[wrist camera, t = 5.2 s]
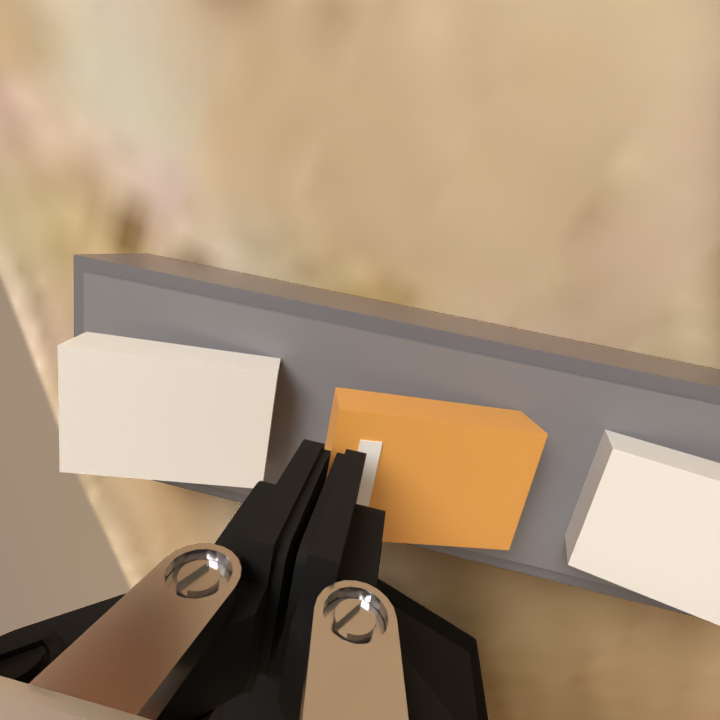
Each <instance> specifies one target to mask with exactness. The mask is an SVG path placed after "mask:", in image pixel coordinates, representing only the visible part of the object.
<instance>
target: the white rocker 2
mask: <svg viewBox="0 0 720 720" xmlns="http://www.w3.org/2000/svg"><path fill="white" fill-rule="evenodd" d="M565 542H566V552H567V562H568V565H570V566H572V567H575V568H577V569H580V570H582V571H585V572H587V573H590V574H592V575H595V576H597V577H600V578H602V579H605V580H607V581H609V582H612V583H614V584H617V585H619V586H622V587H624V588H627V589H629V590H632V591H634V592H637V593H639V594H642V595H644V596H647V597H649V598H652V599H654V600H657V601H659V602H662V603H664V604H667V605H669V606H672V607H674V608H677V609H679V610H682V611H684V612H687V613H689V614H692V615H694V616H697V617H699V618H702V619H704V620H707V621H709V622H712V623H714V624H717V625H719V626H720V463H718V462H714V461H711V460H708V459H704V458H701V457H697V456H694V455H691V454H687V453H684V452H680V451H677V450H674V449H670V448H667V447H663V446H660V445H657V444H653V443H650V442H646V441H643V440H640V439H636V438H633V437H629V436H626V435H622V434H619V433H616V432H612V431H609V430H604V433H603V435H602V438H601V441H600V443H599V446H598V449H597V451H596V454H595V457H594V459H593V462H592V465H591V467H590V470H589V473H588V475H587V478H586V480H585V483H584V486H583V488H582V491H581V494H580V496H579V499H578V502H577V504H576V507H575V510H574V512H573V515H572V518H571V520H570V523H569V526H568V528H567V531H566V533H565Z"/></svg>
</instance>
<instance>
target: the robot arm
mask: <svg viewBox="0 0 720 720" xmlns="http://www.w3.org/2000/svg"><path fill="white" fill-rule="evenodd" d="M324 447H325V444H324V443H320V442H315V441H311V440H307V439H304V440H303V441H302V443H301V444H300V446H299V447H298V449H297V451H296V452H295V454H294V456H293V457H292V459H291V461H290V462H289V464H288V466H287V467H286V469H285V470H284V472H283V474H282V475H281V477H280V479H279V480H278V482H277V484H273V483H268V482H264V481H259V482H258V483H257V484H256V485H255V487H254V488H253V489H252V491H251V492H250V494H249V495H248V497H247V498H246V499H245V501H244V502H243V504H242V505H241V507H240V508H239V510H238V511H237V512H236V514H235V515H234V517H233V518H232V520H231V521H230V522H229V524H228V525H227V527H226V528H225V530H224V531H223V533H222V534H221V535H220V537H219V538H218V540H217V541H216V543H215V544H206V543H199V544H194V545H189V546H185V547H183V548H181V549H178V550H176V551H174V552H173V553H171V554H170V555H169V556H167V557H166V558H164V559H163V560H162V561H161V562H160V563H159V564H158V565H157V566H156V567H155V568H154V569H153V570H151V571H150V572H149V573H148V574H147V575H146V576H145V577H144V578H143V579H142V580H141V581H140V582H138V583H137V584H136V585H135V586H134V587H133V588H132V589H131V590H130V591H129V592H128V593H126V594H123V595H120V596H117V597H114V598H111V599H108V600H105V601H101V602H98V603H96V604H92V605H89V606H86V607H84V608H80V609H77V610H74V611H71V612H68V613H65V614H62V615H59V616H56V617H53V618H50V619H47V620H44V621H41V622H38V623H35V624H32V625H29V626H26V627H23V628H20V629H17V630H14V631H12V632H9V633H7V634H5V635H2V636H0V720H219V718H220V716H221V713H222V711H223V708H224V703H225V702H227V701H229V700H231V699H232V698H234V697H236V696H238V695H240V694H242V693H243V692H244V693H247V694H251V693H252V690H253V688H254V685H255V682H256V680H257V677H258V675H261V676H265V677H268V675H269V672H270V670H271V667H272V664H273V661H274V658H275V655H276V653H277V650H278V647H279V644H280V641H281V638H282V642H281V648H280V654H279V660H278V666H277V672H276V678H275V679H276V680H279V681H281V683H280V689H279V695H278V701H277V703H278V705H279V707H280V709H281V711H282V713H283V715H284V717H285V719H286V720H455V718H454V717H453V716H452V715H451V713H450V712H449V711H448V710H447V708H446V707H445V706H444V705H443V703H442V702H441V701H440V700H439V698H438V697H437V696H436V695H435V693H434V692H433V691H432V690H431V688H430V687H429V686H428V685H427V683H426V682H425V681H424V680H423V678H422V677H421V676H420V675H419V673H418V672H417V671H416V670H415V668H414V667H413V666H412V665H411V663H410V662H409V661H408V660H407V659H406V657H405V656H404V655H403V654H402V652H401V649H400V640H399V632H398V623H397V617H396V614H395V610H394V607H393V606H392V604H391V603H390V601H389V599H388V598H387V597H386V596H385V595H384V594H383V593H382V592H381V591H379V590H378V589H377V580H378V571H379V563H380V555H381V547H382V538H383V530H384V522H385V513H386V512H385V511H384V510H380V509H376V508H372V507H368V506H363V505H359V504H356V503H357V498H358V493H359V488H360V484H361V479H362V474H363V469H364V464H365V460H366V454H367V453H363V452H358V451H354V450H350V449H346V451H345V454H342V453H338V452H337V454H336V456H335V459H334V461H333V464H332V466H331V469H330V471H329V474H328V476H327V473H328V467H329V462H330V456H331V451H330V450H325V449H324ZM326 478H327V479H326ZM282 636H283V637H282Z"/></svg>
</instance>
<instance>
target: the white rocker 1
mask: <svg viewBox="0 0 720 720" xmlns="http://www.w3.org/2000/svg"><path fill="white" fill-rule="evenodd" d="M280 360H281V358H275V357H267V356H260V355H253V354H245V353H238V352H231V351H224V350H216V349H209V348H202V347H195V346H187V345H180V344H173V343H166V342H158V341H151V340H144V339H136V338H129V337H122V336H115V335H107V334H100V333H93V332H85V333H83V334H80V335H78V336H76V337H74V338H72V339H70V340H68V341H65V342H63V343H61V344H59V345H58V395H59V451H60V472H67V473H79V474H91V475H102V476H114V477H126V478H137V479H149V480H161V481H173V482H184V483H196V484H208V485H219V486H231V487H243V488H254V487H255V485H256V484H257V483H258V482H259V481H263V480H264V475H265V469H266V463H267V456H268V448H269V441H270V434H271V426H272V419H273V411H274V404H275V397H276V389H277V382H278V375H279V367H280Z"/></svg>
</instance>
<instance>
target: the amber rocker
mask: <svg viewBox="0 0 720 720" xmlns="http://www.w3.org/2000/svg"><path fill="white" fill-rule="evenodd" d="M547 436H548V434H547V433H546V432H545V431H544V430H543V429H541V428H540V427H539V426H538V425H537V424H536V423H534V422H533V421H532V420H531V419H530V418H529V417H527V416H526V415H525V414H524V413H523V412H522V411H518V410H510V409H502V408H494V407H487V406H479V405H471V404H463V403H456V402H448V401H440V400H432V399H425V398H417V397H409V396H401V395H394V394H386V393H378V392H370V391H363V390H355V389H347V388H339V387H335V393H334V398H333V404H332V410H331V415H330V421H329V427H328V432H327V438H326V443H325V450H330V451H331V456H330V462H329V467H328V473H327V476H328V474H329V471H330V469H331V466H332V464H333V461H334V459H335V456H336V454H337V452H338V453H342V454H345V451H346V449H350V450H354V451H358V452H363V453H367V454H366V460H365V464H364V469H363V474H362V479H361V484H360V488H359V493H358V498H357V503H356V504H359V505H363V506H368V507H372V508H376V509H380V510H384V511H385V512H386V513H385V522H384V530H383V538H382V542H395V543H410V544H425V545H440V546H454V547H469V548H484V549H498V550H509V549H510V546H511V543H512V540H513V537H514V534H515V531H516V528H517V525H518V522H519V519H520V516H521V513H522V510H523V507H524V504H525V501H526V498H527V495H528V492H529V489H530V487H531V484H532V481H533V478H534V475H535V472H536V469H537V466H538V463H539V460H540V457H541V454H542V451H543V448H544V445H545V442H546V439H547ZM326 479H327V478H326Z"/></svg>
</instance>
